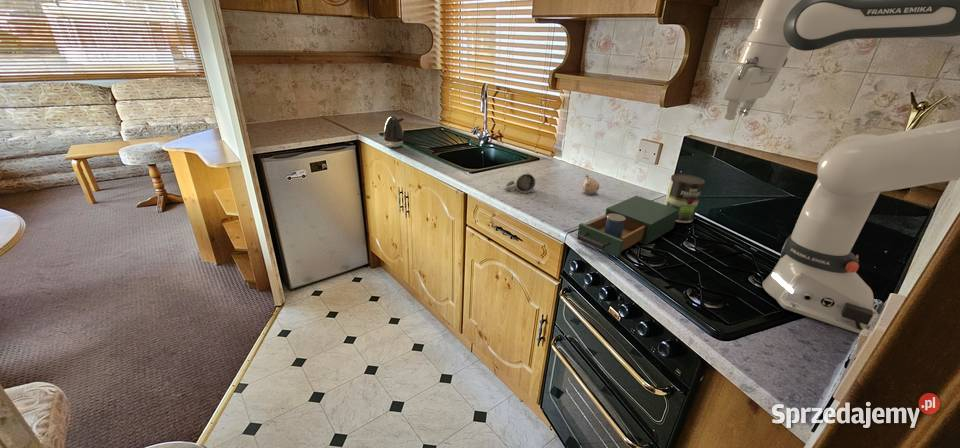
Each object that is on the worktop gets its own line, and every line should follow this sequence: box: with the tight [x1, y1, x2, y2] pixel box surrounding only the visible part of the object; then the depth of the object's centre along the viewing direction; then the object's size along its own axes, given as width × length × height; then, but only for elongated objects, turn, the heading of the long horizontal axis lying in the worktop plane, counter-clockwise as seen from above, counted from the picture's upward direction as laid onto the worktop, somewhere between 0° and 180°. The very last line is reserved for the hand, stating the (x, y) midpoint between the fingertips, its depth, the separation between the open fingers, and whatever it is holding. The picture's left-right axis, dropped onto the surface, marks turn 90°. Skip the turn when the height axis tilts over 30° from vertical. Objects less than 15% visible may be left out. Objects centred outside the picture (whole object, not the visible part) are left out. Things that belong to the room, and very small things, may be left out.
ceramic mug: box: [505, 169, 536, 194], centre depth 157 cm, size 11×8×8 cm
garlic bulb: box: [581, 175, 600, 195], centre depth 156 cm, size 7×6×8 cm
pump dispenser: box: [383, 115, 405, 149], centre depth 205 cm, size 10×10×15 cm
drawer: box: [576, 213, 647, 258], centre depth 118 cm, size 22×14×5 cm, turn 132°
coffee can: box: [663, 173, 706, 224], centre depth 138 cm, size 10×10×14 cm
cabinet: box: [604, 195, 679, 246], centre depth 129 cm, size 19×15×7 cm
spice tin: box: [604, 214, 626, 239], centre depth 118 cm, size 5×5×6 cm
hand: (735, 117), depth 99 cm, fingers open, 8 cm apart
